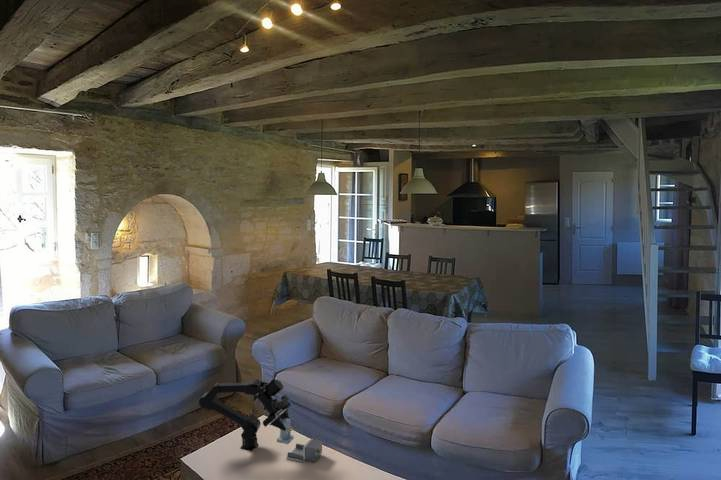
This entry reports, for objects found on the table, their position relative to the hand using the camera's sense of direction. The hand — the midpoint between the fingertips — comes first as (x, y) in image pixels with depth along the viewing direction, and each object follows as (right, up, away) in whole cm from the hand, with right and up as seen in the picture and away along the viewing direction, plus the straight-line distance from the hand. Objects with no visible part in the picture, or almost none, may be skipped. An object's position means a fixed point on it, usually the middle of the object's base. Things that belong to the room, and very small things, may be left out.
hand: (288, 427), depth 235 cm
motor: (+9, -13, -2) cm, 16 cm away
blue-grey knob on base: (-2, -7, +1) cm, 7 cm away
